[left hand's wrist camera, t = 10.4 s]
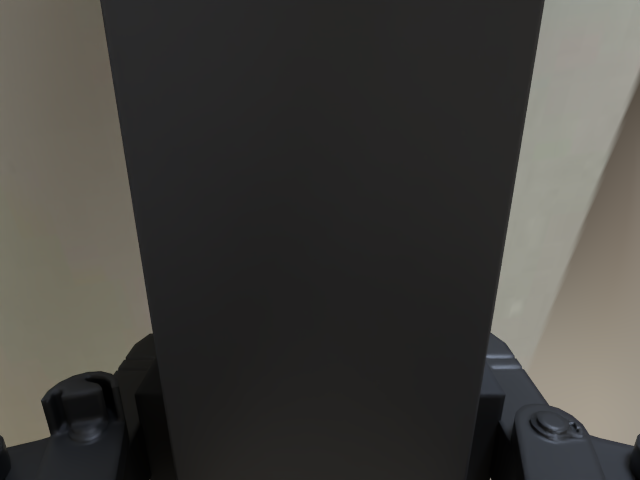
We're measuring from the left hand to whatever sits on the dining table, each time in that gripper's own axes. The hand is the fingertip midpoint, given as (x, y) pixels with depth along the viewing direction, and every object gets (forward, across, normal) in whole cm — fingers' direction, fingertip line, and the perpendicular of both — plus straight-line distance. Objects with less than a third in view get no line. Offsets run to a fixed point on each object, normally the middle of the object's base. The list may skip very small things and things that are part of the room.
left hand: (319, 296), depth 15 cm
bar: (+1, 0, -10) cm, 10 cm away
